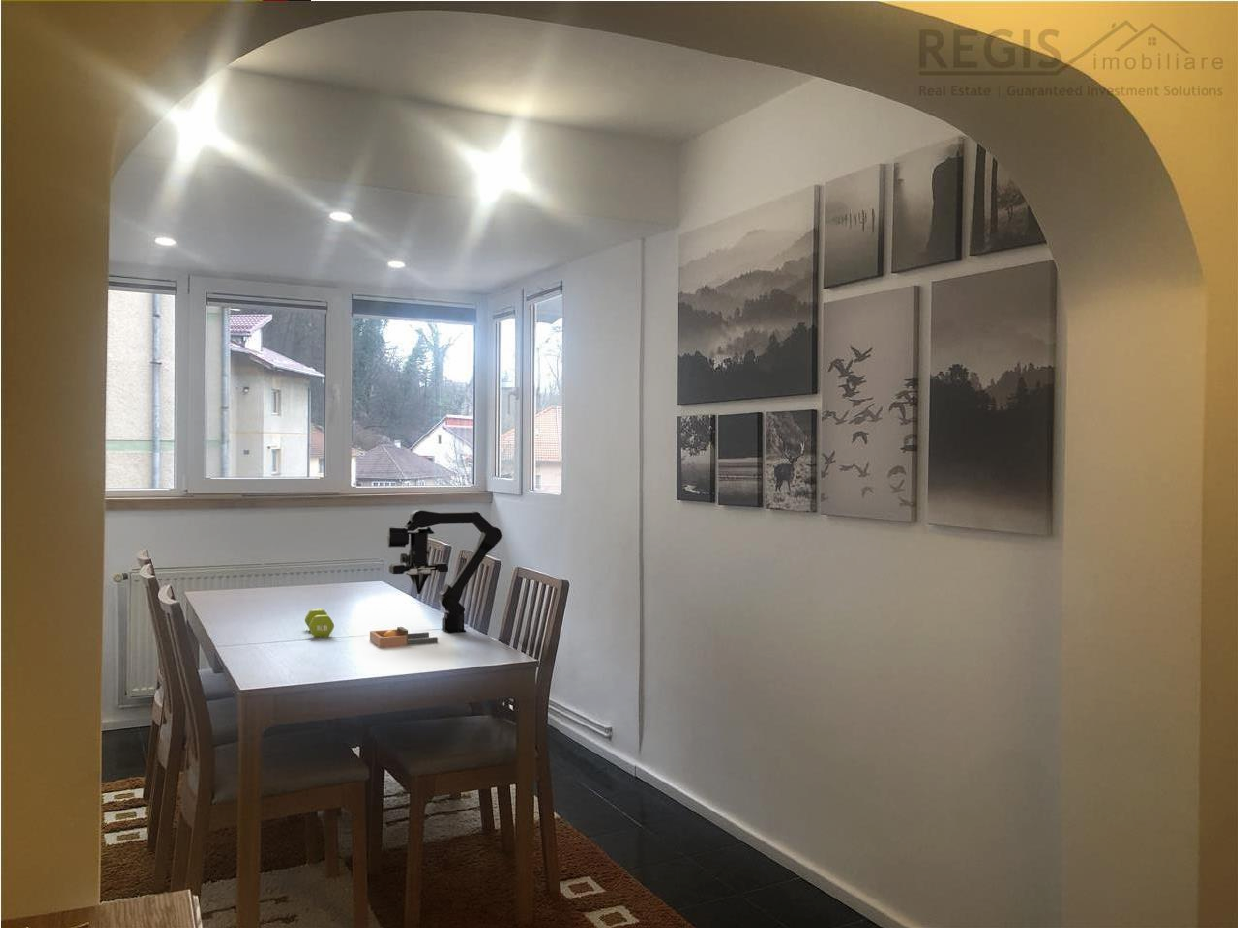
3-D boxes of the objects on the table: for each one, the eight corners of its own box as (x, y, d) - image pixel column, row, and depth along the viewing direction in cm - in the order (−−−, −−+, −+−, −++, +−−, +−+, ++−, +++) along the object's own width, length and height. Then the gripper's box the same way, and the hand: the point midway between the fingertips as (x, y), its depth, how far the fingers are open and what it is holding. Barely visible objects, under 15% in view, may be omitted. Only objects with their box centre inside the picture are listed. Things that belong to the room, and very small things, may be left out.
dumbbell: (334, 637, 305) (334, 615, 305) (308, 639, 302) (309, 616, 302) (328, 628, 321) (329, 607, 320) (304, 629, 317) (304, 608, 317)
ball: (379, 633, 298) (385, 644, 299) (383, 635, 295) (389, 646, 296) (391, 626, 300) (396, 637, 301) (394, 628, 297) (400, 639, 298)
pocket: (396, 638, 305) (396, 629, 305) (407, 645, 295) (407, 635, 295) (369, 640, 301) (370, 631, 301) (379, 647, 290) (380, 638, 290)
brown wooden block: (401, 639, 303) (402, 626, 303) (408, 643, 297) (408, 630, 297) (396, 639, 302) (397, 627, 302) (403, 643, 297) (403, 630, 297)
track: (427, 636, 309) (428, 632, 309) (437, 642, 300) (437, 637, 300) (397, 639, 304) (397, 634, 304) (406, 644, 296) (406, 640, 296)
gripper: (438, 544, 327) (437, 589, 327) (384, 545, 318) (384, 592, 318) (449, 547, 317) (448, 593, 317) (394, 549, 308) (393, 596, 308)
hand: (418, 593), depth 315 cm, fingers closed
